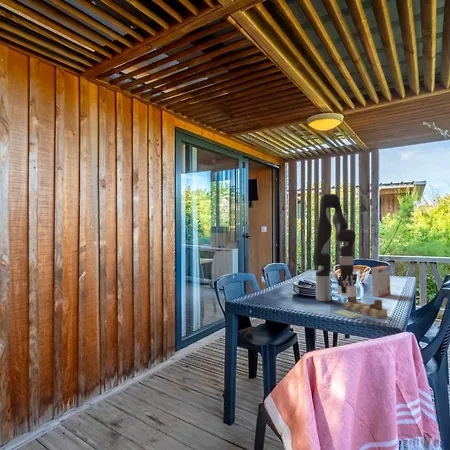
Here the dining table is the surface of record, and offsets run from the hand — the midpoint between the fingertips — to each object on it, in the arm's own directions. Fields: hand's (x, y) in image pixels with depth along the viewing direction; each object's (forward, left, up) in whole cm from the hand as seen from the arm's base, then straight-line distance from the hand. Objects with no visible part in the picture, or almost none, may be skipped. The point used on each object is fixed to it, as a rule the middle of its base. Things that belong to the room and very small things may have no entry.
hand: (347, 292), depth 184 cm
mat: (0, 0, -13) cm, 13 cm away
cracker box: (-24, +57, -13) cm, 63 cm away
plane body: (+1, +13, -13) cm, 18 cm away
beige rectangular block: (0, 0, -2) cm, 2 cm away
